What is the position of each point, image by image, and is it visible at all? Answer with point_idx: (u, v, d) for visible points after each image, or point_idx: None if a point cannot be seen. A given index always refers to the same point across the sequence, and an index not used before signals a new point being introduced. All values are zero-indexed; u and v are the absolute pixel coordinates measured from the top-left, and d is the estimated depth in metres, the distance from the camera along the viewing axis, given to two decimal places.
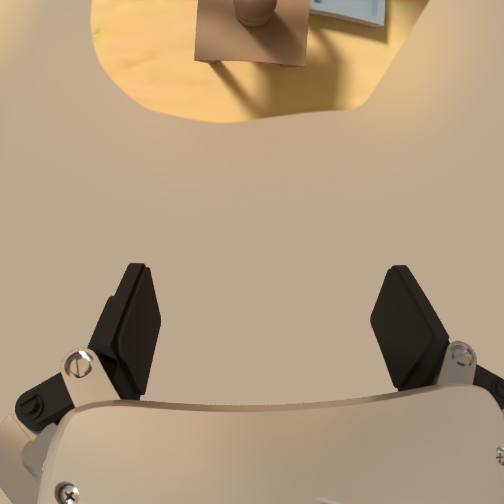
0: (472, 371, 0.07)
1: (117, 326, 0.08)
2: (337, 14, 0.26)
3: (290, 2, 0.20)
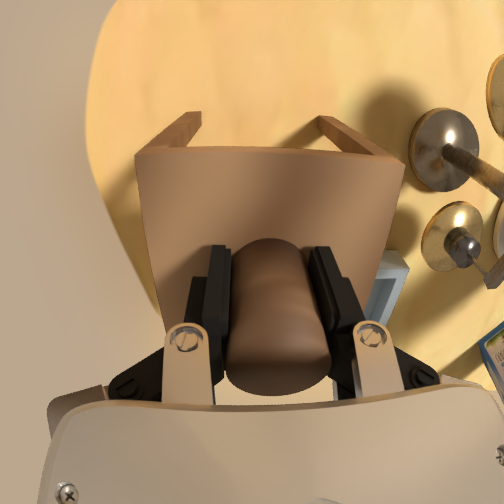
0: (390, 347, 0.08)
1: (221, 299, 0.09)
2: None
3: None
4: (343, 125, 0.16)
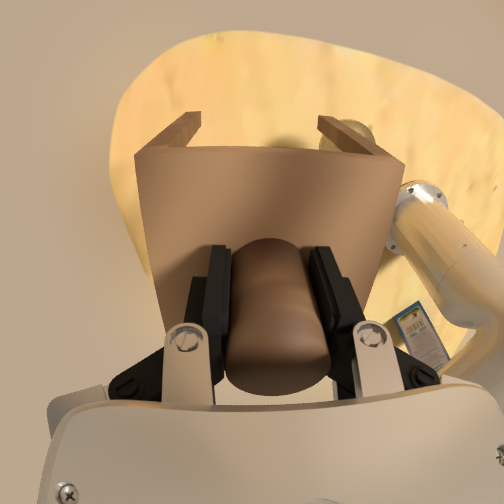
0: (390, 347, 0.08)
1: (221, 300, 0.09)
2: None
3: None
4: (343, 125, 0.16)
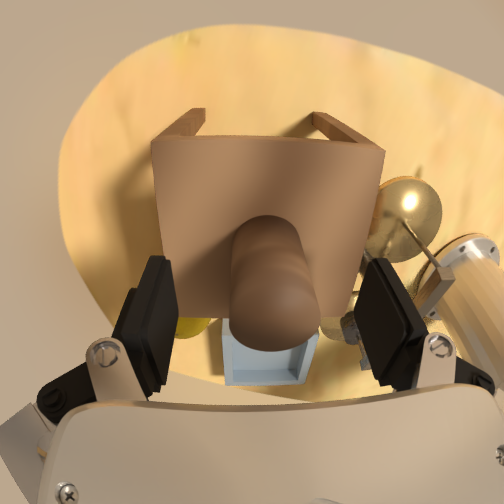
0: (453, 361, 0.07)
1: (143, 315, 0.08)
2: None
3: None
4: (334, 120, 0.18)
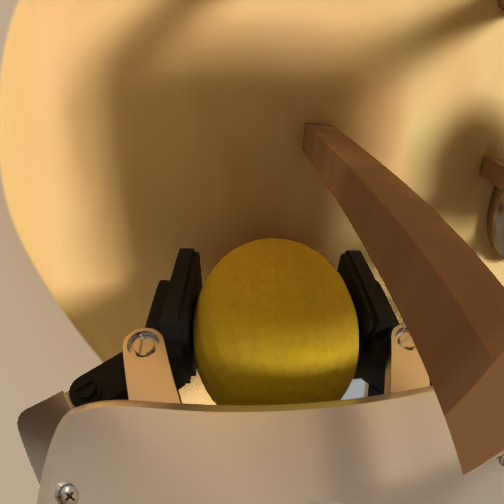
0: None
1: (179, 305, 0.09)
2: None
3: None
4: None
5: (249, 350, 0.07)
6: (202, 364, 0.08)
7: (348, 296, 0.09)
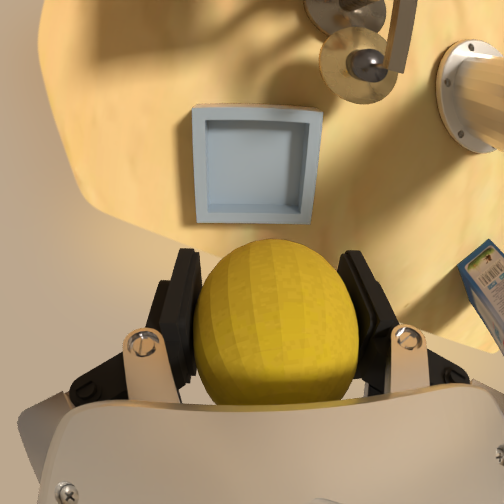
0: (424, 352, 0.07)
1: (180, 305, 0.09)
2: None
3: None
4: None
5: (249, 351, 0.07)
6: (202, 365, 0.08)
7: (348, 297, 0.09)
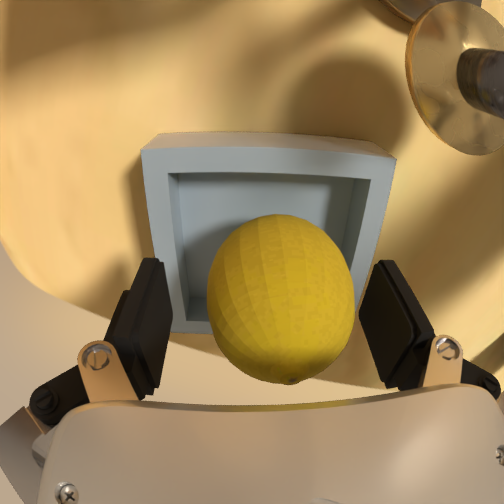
0: (459, 364, 0.07)
1: (134, 318, 0.08)
2: None
3: None
4: None
5: (259, 297, 0.08)
6: (216, 318, 0.09)
7: (344, 261, 0.10)
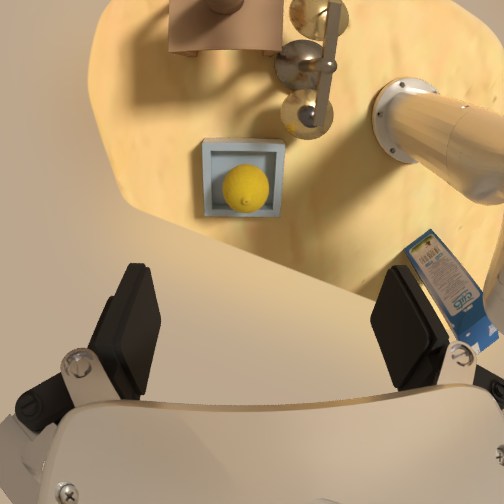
0: (472, 371, 0.07)
1: (117, 326, 0.08)
2: (203, 172, 0.37)
3: (241, 31, 0.21)
4: None
5: (237, 180, 0.33)
6: (226, 189, 0.34)
7: (264, 175, 0.35)
